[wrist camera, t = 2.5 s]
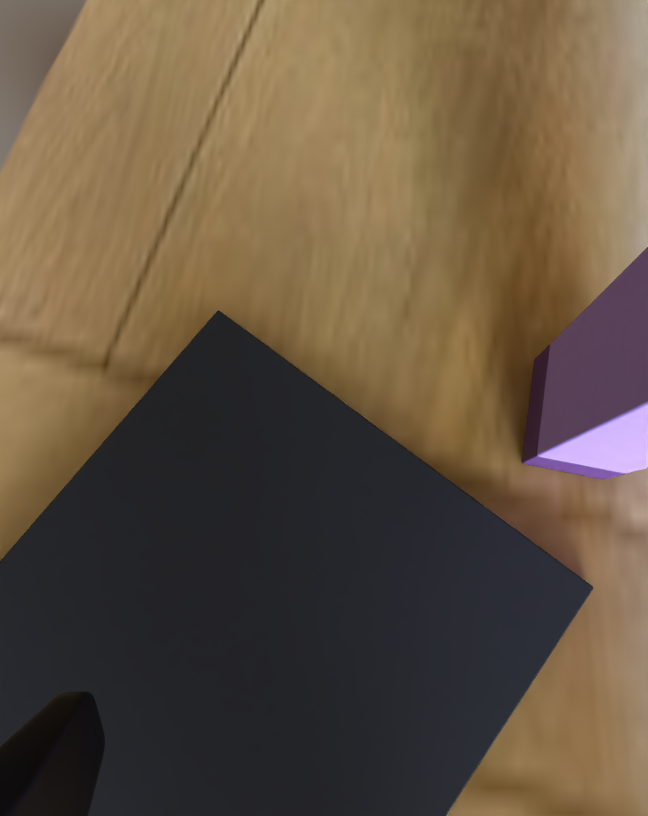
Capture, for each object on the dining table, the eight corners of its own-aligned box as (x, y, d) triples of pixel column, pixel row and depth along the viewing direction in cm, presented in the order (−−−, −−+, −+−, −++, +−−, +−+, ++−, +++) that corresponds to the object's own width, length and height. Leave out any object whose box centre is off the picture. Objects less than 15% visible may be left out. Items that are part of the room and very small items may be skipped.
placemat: (588, 586, 21) (594, 587, 20) (223, 1149, 17) (219, 1166, 17) (220, 314, 24) (218, 309, 23) (-151, 742, 20) (-163, 747, 20)
